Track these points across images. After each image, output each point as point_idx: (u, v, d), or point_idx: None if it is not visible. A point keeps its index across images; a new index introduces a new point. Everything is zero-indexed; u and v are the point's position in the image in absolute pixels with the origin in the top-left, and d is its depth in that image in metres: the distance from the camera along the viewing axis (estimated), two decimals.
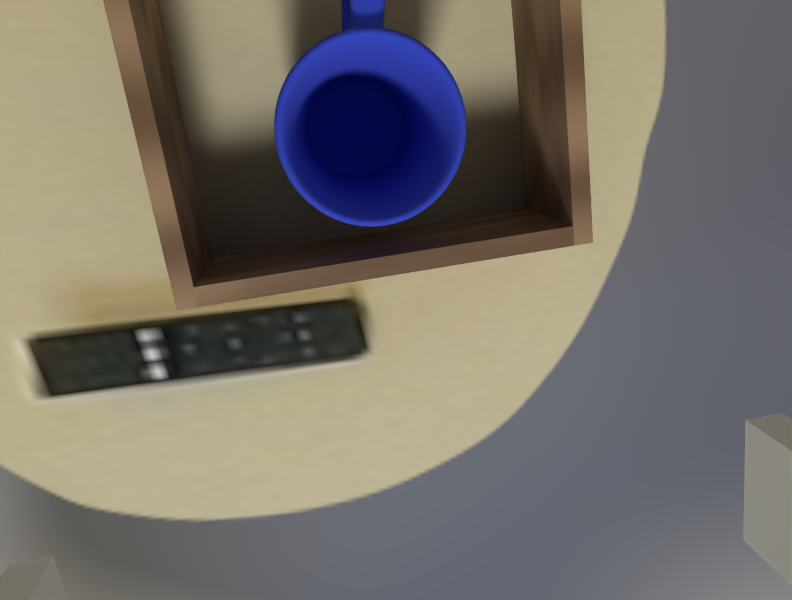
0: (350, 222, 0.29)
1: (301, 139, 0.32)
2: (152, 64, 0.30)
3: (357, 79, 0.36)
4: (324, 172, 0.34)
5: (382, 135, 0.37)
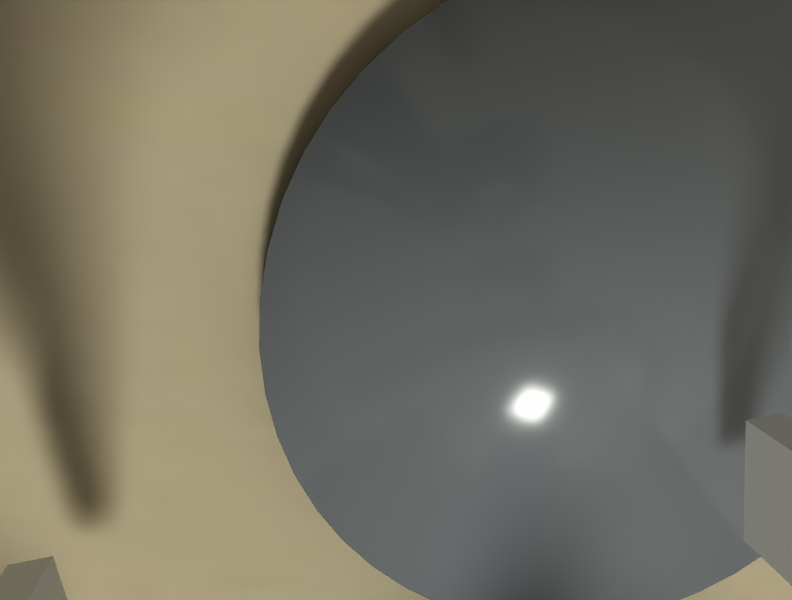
0: None
1: None
2: None
3: None
4: None
5: None
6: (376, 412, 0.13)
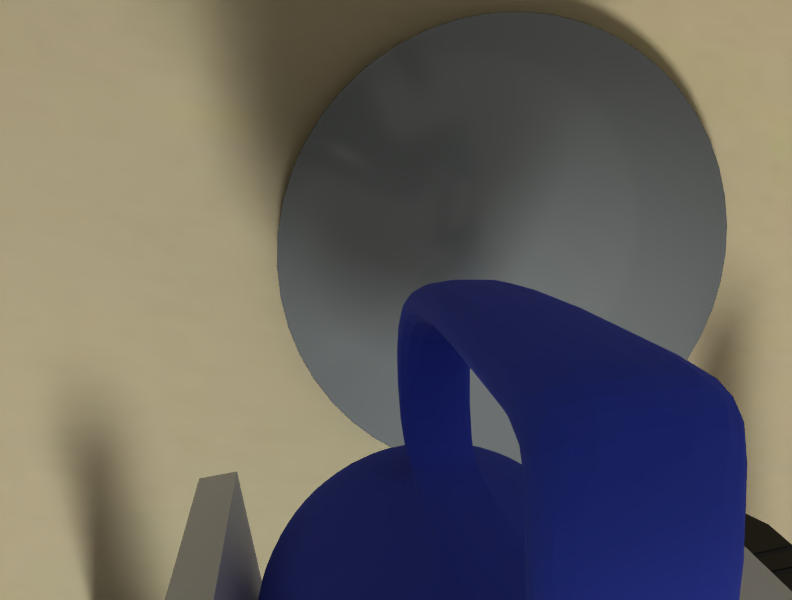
0: None
1: None
2: None
3: None
4: None
5: None
6: (353, 312, 0.20)
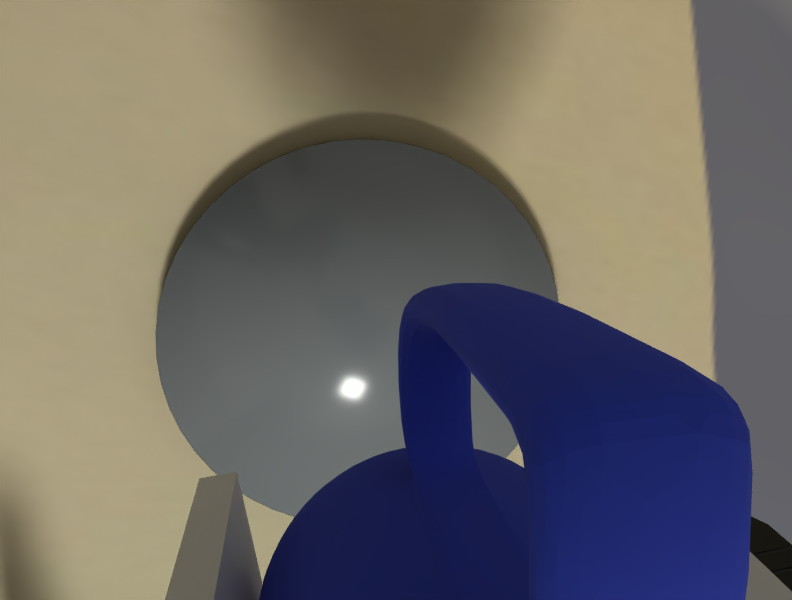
0: None
1: None
2: None
3: None
4: None
5: None
6: (226, 394, 0.22)
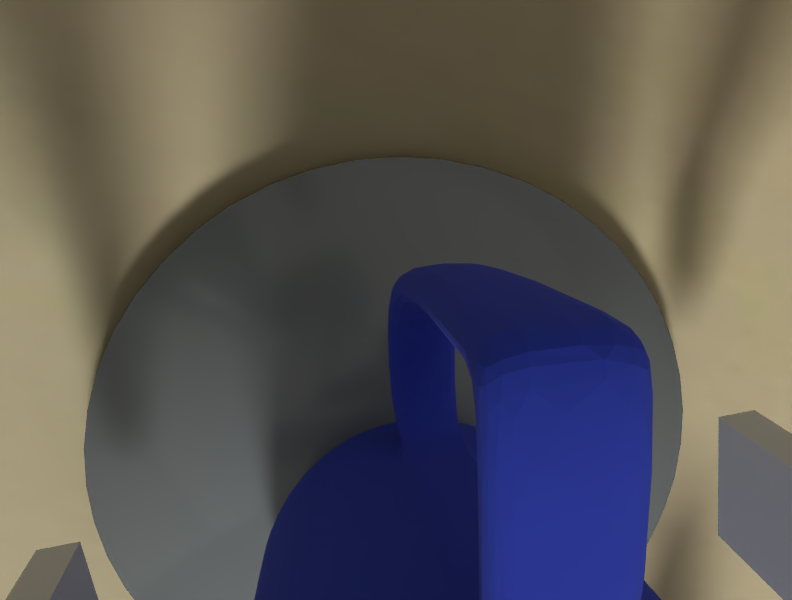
0: None
1: None
2: None
3: None
4: None
5: None
6: (193, 535, 0.15)
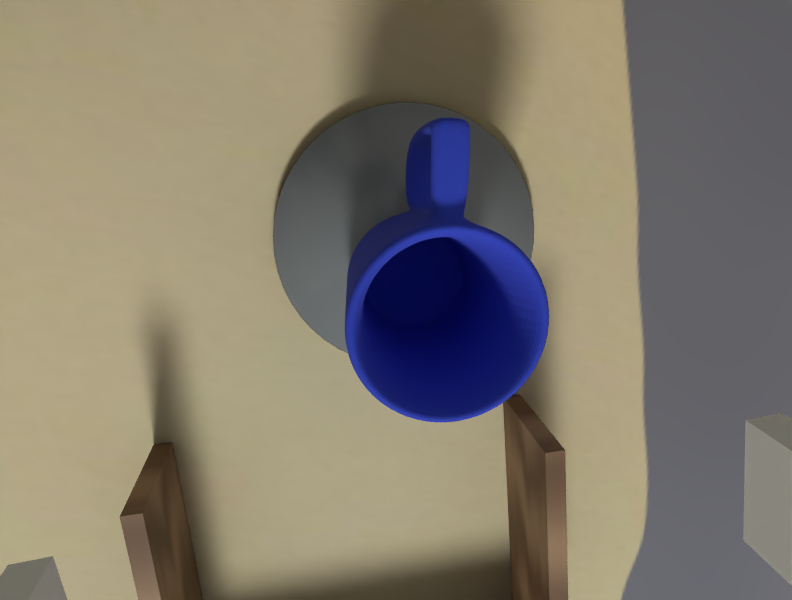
0: (420, 419, 0.27)
1: None
2: None
3: None
4: (382, 333, 0.32)
5: (440, 283, 0.35)
6: (315, 265, 0.34)
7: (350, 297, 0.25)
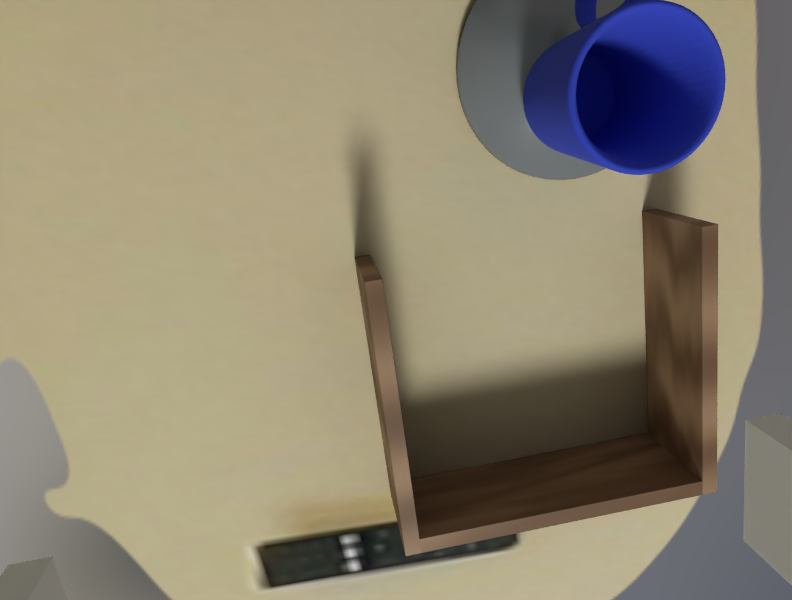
0: (623, 170, 0.33)
1: None
2: None
3: None
4: None
5: (597, 102, 0.41)
6: (492, 90, 0.41)
7: (573, 64, 0.31)
